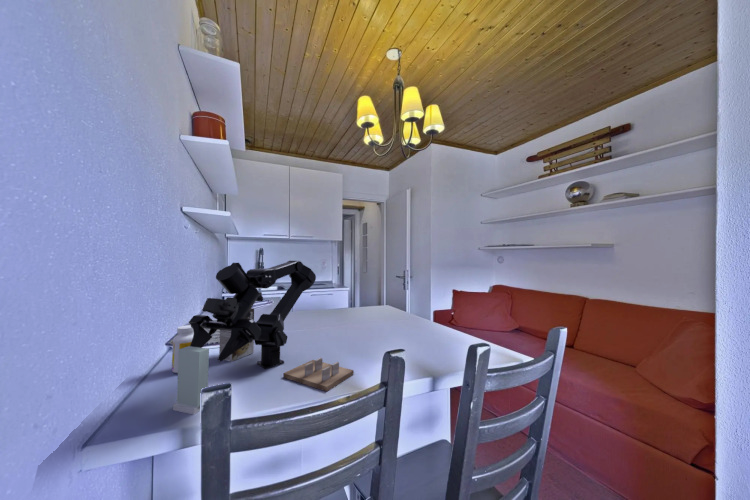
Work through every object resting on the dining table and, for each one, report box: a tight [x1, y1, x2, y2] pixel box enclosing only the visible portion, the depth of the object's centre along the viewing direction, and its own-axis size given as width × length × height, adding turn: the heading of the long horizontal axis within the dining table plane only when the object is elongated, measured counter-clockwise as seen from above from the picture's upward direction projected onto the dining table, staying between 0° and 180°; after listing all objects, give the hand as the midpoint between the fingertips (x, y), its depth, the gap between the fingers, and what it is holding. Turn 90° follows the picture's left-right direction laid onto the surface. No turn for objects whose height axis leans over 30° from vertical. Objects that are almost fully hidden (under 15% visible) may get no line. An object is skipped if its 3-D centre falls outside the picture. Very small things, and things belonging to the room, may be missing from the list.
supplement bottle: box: [171, 324, 194, 374], centre depth 81 cm, size 7×7×13 cm
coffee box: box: [218, 307, 255, 362], centre depth 92 cm, size 9×6×16 cm
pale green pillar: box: [172, 346, 210, 415], centre depth 60 cm, size 4×6×13 cm, turn 74°
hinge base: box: [282, 357, 355, 392], centre depth 77 cm, size 16×12×4 cm
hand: (203, 358), depth 63 cm, fingers open, 9 cm apart
